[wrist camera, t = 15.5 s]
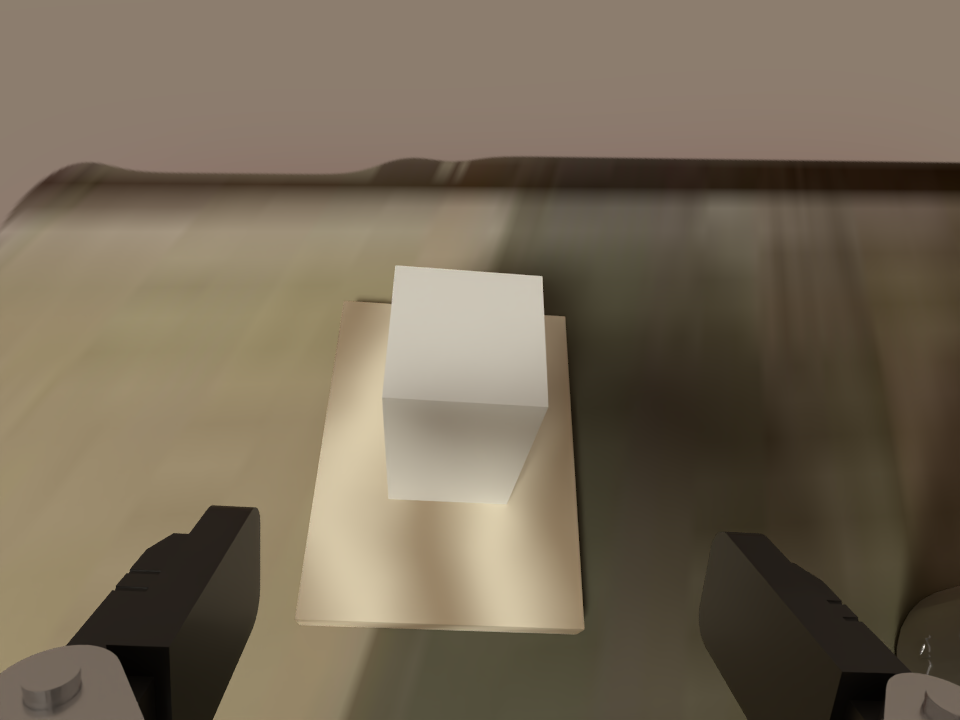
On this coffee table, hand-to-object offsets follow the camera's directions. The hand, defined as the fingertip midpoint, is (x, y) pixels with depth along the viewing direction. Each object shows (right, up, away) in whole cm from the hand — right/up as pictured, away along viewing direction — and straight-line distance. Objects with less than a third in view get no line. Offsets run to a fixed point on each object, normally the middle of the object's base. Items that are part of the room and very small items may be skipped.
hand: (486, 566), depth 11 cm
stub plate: (-2, -1, +21) cm, 21 cm away
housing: (-1, -1, +19) cm, 20 cm away
